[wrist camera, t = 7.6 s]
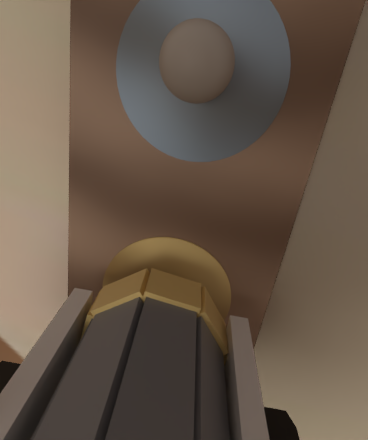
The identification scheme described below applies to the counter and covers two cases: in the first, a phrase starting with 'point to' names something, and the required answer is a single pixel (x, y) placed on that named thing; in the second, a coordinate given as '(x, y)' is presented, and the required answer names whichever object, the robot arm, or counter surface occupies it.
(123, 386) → the sleeve ochre
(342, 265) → the counter surface
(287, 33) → the pin board
